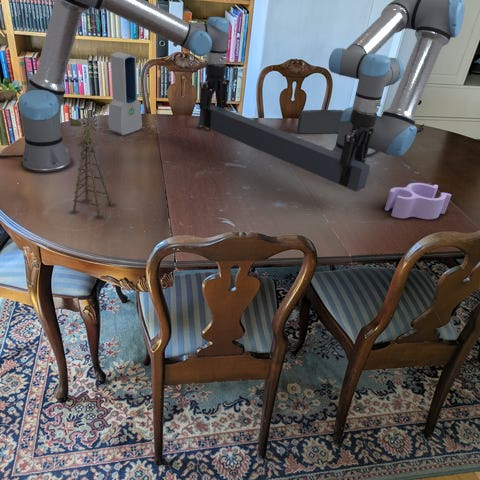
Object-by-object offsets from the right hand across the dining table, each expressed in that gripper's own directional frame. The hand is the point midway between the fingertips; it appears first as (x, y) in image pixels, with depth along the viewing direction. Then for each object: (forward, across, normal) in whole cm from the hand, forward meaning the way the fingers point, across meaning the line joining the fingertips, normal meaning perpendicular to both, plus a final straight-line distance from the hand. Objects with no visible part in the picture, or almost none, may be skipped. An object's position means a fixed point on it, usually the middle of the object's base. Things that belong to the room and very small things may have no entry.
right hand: (347, 182), depth 150 cm
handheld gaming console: (+8, +52, +45) cm, 70 cm away
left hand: (0, 0, +63) cm, 63 cm away
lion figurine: (+8, +14, +76) cm, 78 cm away
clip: (+8, +16, -18) cm, 25 cm away
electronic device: (+8, -19, +94) cm, 96 cm away
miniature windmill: (+8, -65, +46) cm, 80 cm away
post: (+1, 0, +31) cm, 31 cm away
